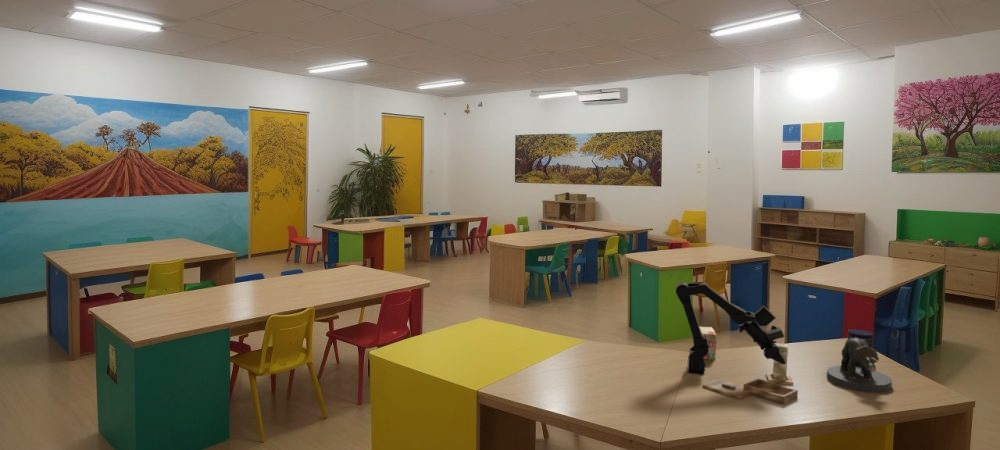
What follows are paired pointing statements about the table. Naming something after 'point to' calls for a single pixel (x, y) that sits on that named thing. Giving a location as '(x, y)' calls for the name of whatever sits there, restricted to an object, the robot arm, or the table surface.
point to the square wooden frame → (787, 382)
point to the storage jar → (861, 337)
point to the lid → (727, 388)
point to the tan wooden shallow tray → (771, 391)
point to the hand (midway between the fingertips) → (783, 361)
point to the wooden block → (780, 368)
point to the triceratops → (859, 369)
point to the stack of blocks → (710, 341)
